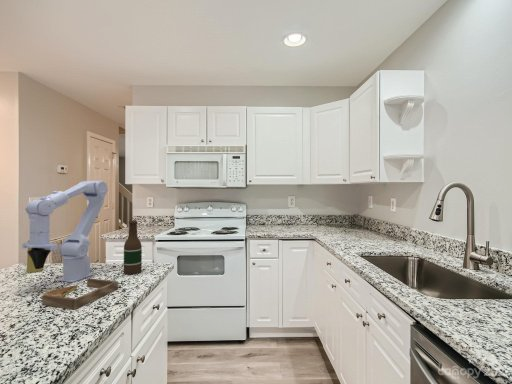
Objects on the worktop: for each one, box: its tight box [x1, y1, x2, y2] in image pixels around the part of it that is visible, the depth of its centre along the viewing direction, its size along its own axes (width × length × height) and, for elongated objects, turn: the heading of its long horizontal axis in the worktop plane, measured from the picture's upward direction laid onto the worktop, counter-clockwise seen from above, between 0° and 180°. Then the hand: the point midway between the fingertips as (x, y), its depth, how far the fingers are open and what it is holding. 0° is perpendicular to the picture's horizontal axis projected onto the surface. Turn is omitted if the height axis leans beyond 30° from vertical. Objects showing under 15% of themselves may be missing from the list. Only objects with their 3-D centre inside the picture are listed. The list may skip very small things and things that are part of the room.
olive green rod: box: [25, 239, 44, 274], centre depth 122 cm, size 6×6×14 cm
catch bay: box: [41, 277, 119, 310], centre depth 93 cm, size 18×14×3 cm
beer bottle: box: [123, 219, 143, 276], centre depth 121 cm, size 8×8×24 cm
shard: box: [42, 284, 79, 297], centre depth 96 cm, size 11×8×2 cm
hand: (39, 268), depth 98 cm, fingers closed
